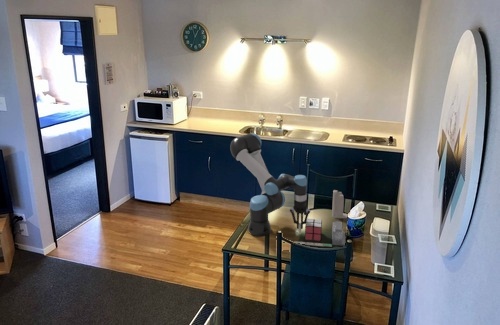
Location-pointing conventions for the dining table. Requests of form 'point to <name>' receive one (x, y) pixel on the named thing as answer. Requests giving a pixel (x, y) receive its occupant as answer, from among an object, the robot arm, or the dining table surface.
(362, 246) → the dining table surface
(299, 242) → the scale strip
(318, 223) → the puzzle cube
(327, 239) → the dining table surface
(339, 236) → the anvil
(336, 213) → the beige l-shaped block
